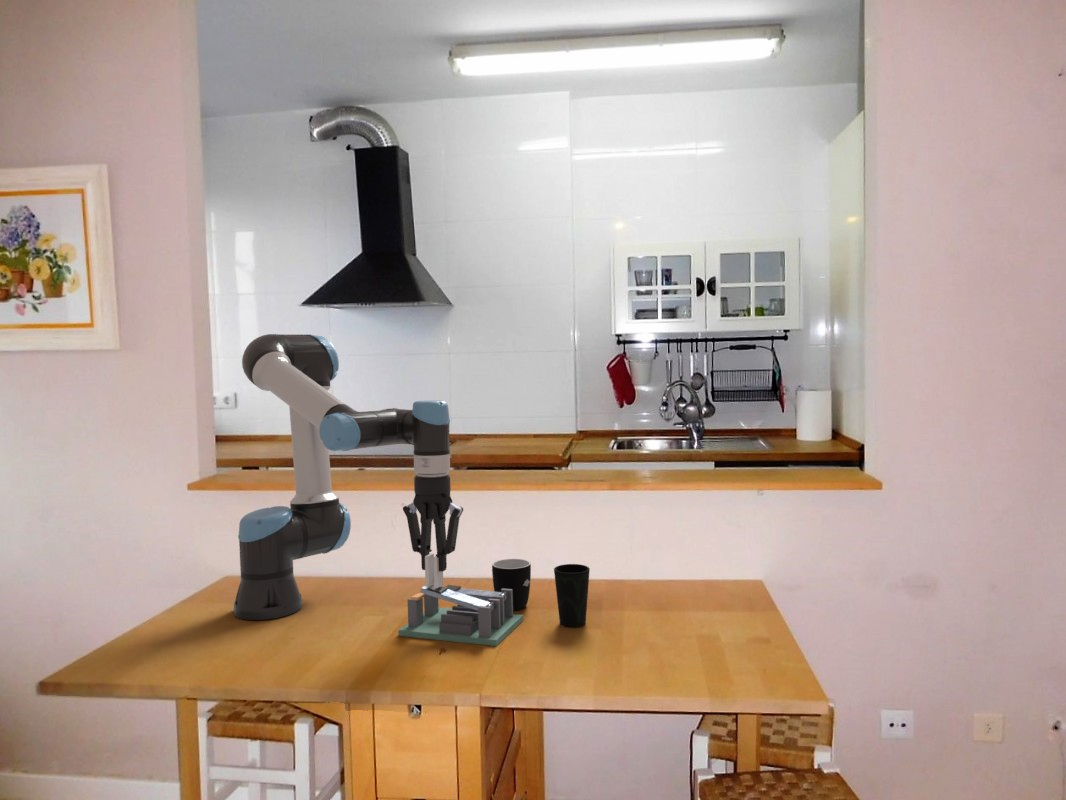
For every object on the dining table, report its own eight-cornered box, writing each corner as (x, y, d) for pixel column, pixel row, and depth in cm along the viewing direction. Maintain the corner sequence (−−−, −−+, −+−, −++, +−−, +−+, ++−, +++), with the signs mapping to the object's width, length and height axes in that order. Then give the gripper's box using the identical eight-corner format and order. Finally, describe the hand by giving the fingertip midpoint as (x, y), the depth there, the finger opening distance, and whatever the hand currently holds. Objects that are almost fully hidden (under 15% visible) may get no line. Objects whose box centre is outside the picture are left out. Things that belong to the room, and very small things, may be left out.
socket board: (398, 635, 159) (397, 599, 159) (432, 611, 175) (431, 579, 174) (496, 646, 152) (495, 608, 152) (523, 620, 167) (522, 586, 167)
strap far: (435, 596, 167) (435, 588, 167) (442, 591, 170) (442, 583, 170) (502, 603, 162) (502, 596, 162) (508, 599, 165) (508, 591, 165)
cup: (548, 626, 163) (547, 570, 163) (564, 615, 170) (563, 562, 170) (581, 631, 160) (580, 574, 159) (596, 620, 166) (595, 566, 166)
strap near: (420, 593, 160) (421, 586, 160) (427, 589, 163) (429, 581, 163) (488, 615, 155) (490, 607, 155) (495, 610, 158) (496, 602, 158)
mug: (528, 613, 172) (527, 568, 172) (489, 612, 174) (488, 568, 173) (536, 597, 184) (535, 555, 184) (499, 596, 185) (498, 555, 185)
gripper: (392, 475, 158) (395, 588, 159) (456, 477, 154) (458, 593, 155) (409, 470, 166) (412, 578, 166) (471, 472, 161) (473, 583, 162)
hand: (434, 585), depth 161 cm, fingers closed
